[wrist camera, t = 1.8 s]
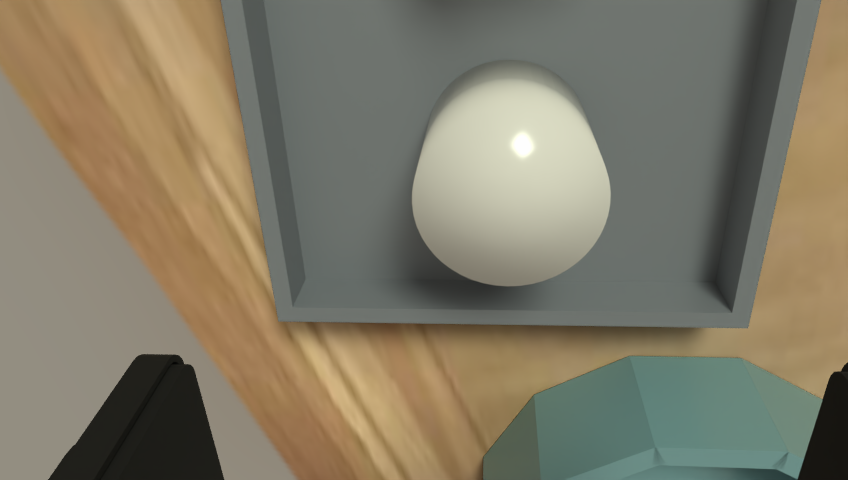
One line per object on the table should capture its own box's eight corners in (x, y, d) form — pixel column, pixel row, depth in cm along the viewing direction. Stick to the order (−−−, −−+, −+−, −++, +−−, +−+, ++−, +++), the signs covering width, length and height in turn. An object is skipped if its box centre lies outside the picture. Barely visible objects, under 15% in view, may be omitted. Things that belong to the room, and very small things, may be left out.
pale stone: (593, 57, 21) (619, 105, 16) (582, 211, 23) (602, 287, 19) (423, 61, 21) (406, 108, 17) (430, 211, 24) (416, 285, 19)
